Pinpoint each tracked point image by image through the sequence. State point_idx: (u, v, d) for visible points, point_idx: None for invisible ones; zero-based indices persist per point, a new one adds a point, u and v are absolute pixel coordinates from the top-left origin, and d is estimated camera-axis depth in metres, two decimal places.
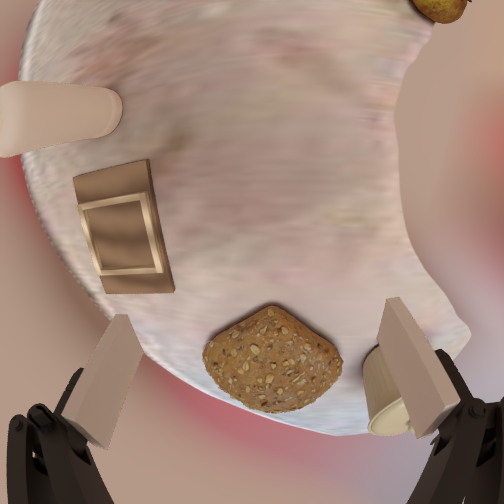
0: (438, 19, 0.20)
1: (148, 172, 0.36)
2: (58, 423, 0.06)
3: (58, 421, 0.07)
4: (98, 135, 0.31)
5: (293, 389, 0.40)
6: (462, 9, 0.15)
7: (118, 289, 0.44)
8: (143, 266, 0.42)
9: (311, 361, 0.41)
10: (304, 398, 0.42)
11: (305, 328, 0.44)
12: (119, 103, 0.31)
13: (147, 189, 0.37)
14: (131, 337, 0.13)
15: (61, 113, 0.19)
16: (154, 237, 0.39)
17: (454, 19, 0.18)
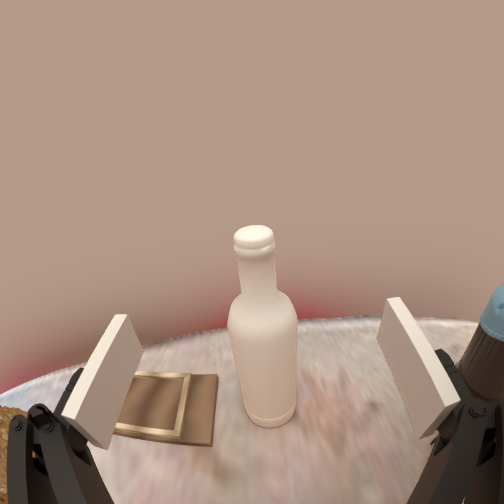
0: None
1: (198, 443, 0.32)
2: (58, 423, 0.06)
3: (58, 421, 0.07)
4: (244, 404, 0.36)
5: None
6: None
7: None
8: None
9: None
10: None
11: None
12: (274, 425, 0.34)
13: (182, 439, 0.32)
14: (131, 337, 0.13)
15: (256, 373, 0.28)
16: (138, 431, 0.32)
17: None
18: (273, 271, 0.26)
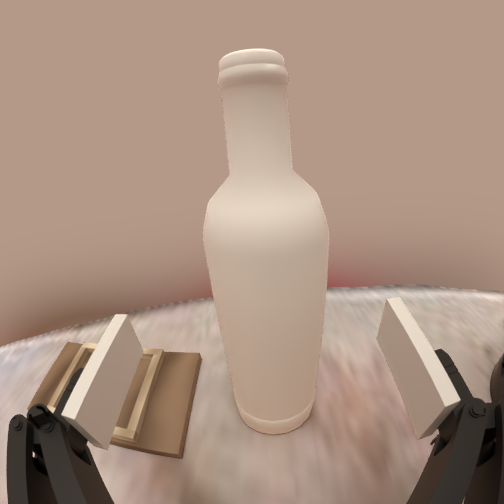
0: None
1: (161, 452, 0.19)
2: (58, 423, 0.06)
3: (58, 421, 0.07)
4: (235, 396, 0.23)
5: None
6: None
7: (62, 356, 0.30)
8: None
9: None
10: None
11: None
12: (280, 430, 0.21)
13: (138, 443, 0.20)
14: (131, 337, 0.13)
15: (252, 331, 0.16)
16: None
17: None
18: (286, 116, 0.13)
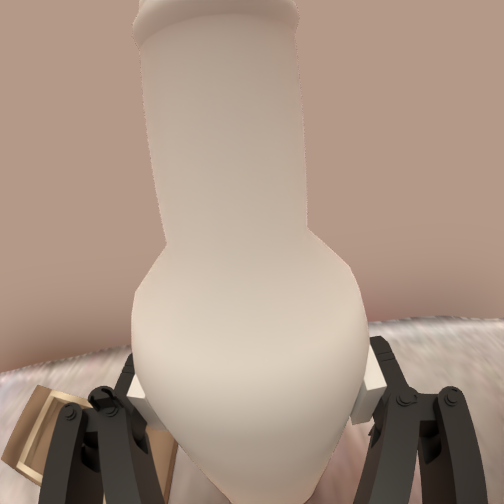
0: None
1: None
2: (123, 409, 0.08)
3: (124, 407, 0.08)
4: None
5: None
6: None
7: (32, 402, 0.21)
8: (32, 450, 0.15)
9: None
10: None
11: None
12: None
13: None
14: None
15: (230, 481, 0.07)
16: None
17: None
18: (296, 102, 0.05)
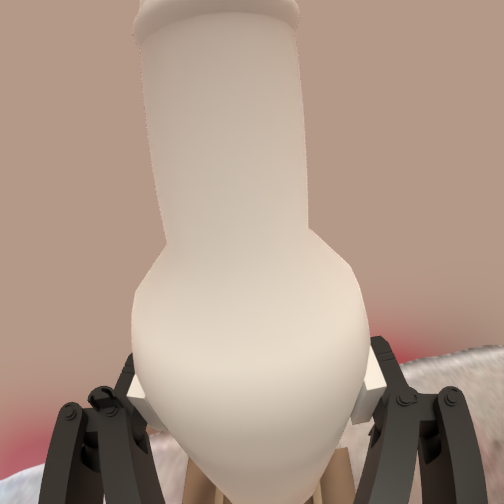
0: None
1: None
2: (123, 409, 0.08)
3: (124, 407, 0.08)
4: None
5: None
6: None
7: (193, 473, 0.26)
8: None
9: None
10: None
11: None
12: None
13: None
14: None
15: (230, 481, 0.07)
16: None
17: None
18: (297, 102, 0.05)
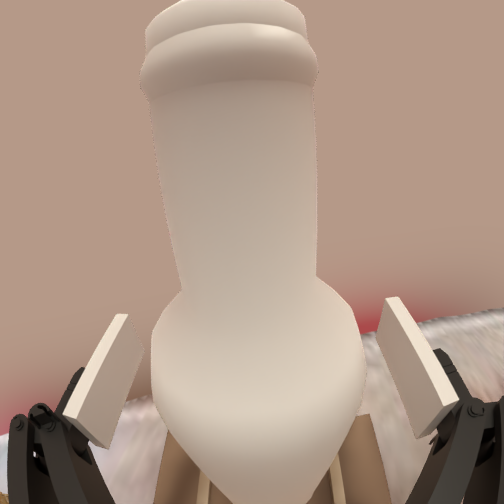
0: None
1: None
2: (59, 423, 0.06)
3: (59, 421, 0.07)
4: None
5: None
6: None
7: (172, 449, 0.22)
8: None
9: None
10: None
11: None
12: None
13: None
14: (132, 337, 0.13)
15: (238, 491, 0.08)
16: None
17: None
18: (312, 172, 0.05)
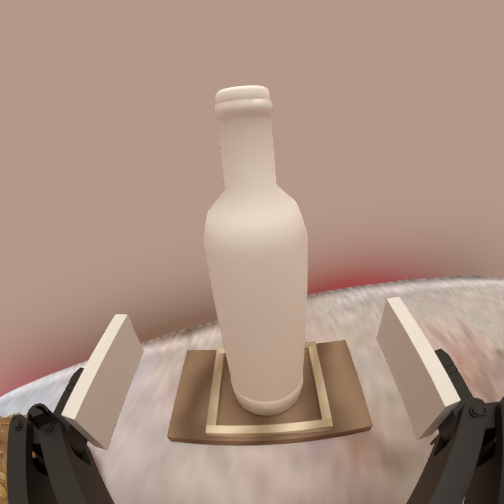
0: None
1: (355, 430, 0.22)
2: (58, 423, 0.06)
3: (58, 421, 0.07)
4: (231, 381, 0.27)
5: None
6: None
7: (189, 367, 0.33)
8: (218, 409, 0.26)
9: None
10: None
11: None
12: (272, 411, 0.25)
13: (333, 429, 0.23)
14: (131, 337, 0.13)
15: (245, 317, 0.19)
16: (264, 433, 0.23)
17: None
18: (271, 142, 0.17)
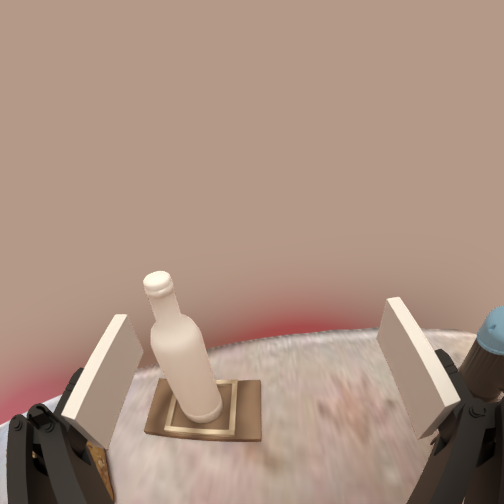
0: None
1: (250, 439, 0.39)
2: (58, 423, 0.06)
3: (58, 421, 0.07)
4: None
5: None
6: None
7: (159, 390, 0.49)
8: (173, 417, 0.43)
9: None
10: None
11: None
12: (201, 421, 0.42)
13: (236, 437, 0.39)
14: (131, 337, 0.13)
15: (172, 378, 0.36)
16: (195, 433, 0.39)
17: None
18: (173, 305, 0.33)
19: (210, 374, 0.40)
